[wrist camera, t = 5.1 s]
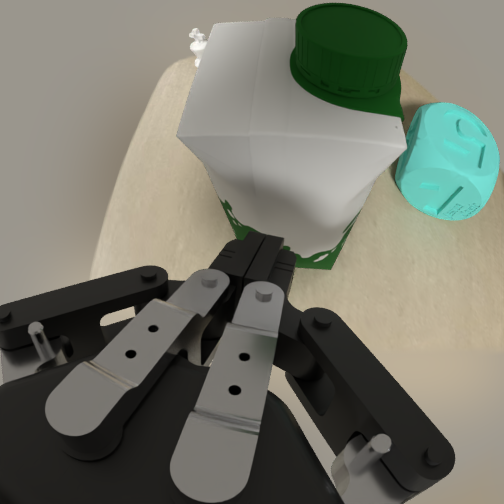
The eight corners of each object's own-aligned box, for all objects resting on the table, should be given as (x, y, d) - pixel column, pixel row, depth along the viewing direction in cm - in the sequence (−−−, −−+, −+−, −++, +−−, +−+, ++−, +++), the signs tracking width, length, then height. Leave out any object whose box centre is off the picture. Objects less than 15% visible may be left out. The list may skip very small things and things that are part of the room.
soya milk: (340, 281, 26) (451, 126, 7) (234, 273, 27) (125, 112, 8) (341, 188, 28) (390, -10, 9) (245, 182, 29) (193, -15, 10)
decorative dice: (388, 198, 27) (416, 151, 20) (403, 138, 29) (425, 88, 22) (458, 230, 26) (500, 195, 18) (465, 168, 28) (499, 126, 20)
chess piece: (218, 115, 32) (197, 46, 23) (186, 103, 33) (160, 39, 24) (244, 89, 33) (231, 21, 24) (211, 78, 34) (193, 15, 25)
